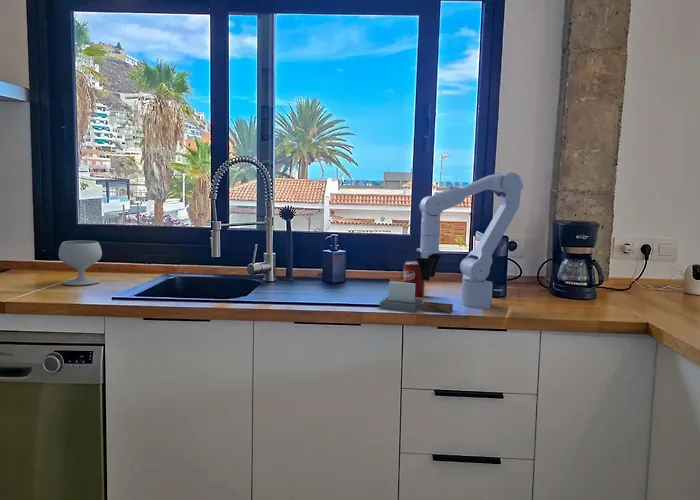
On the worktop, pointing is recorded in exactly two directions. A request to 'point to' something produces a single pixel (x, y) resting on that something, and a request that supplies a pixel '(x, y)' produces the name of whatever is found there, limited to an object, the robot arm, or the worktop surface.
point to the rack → (400, 305)
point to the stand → (436, 307)
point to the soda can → (414, 277)
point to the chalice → (80, 258)
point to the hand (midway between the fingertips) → (428, 278)
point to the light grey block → (402, 291)
